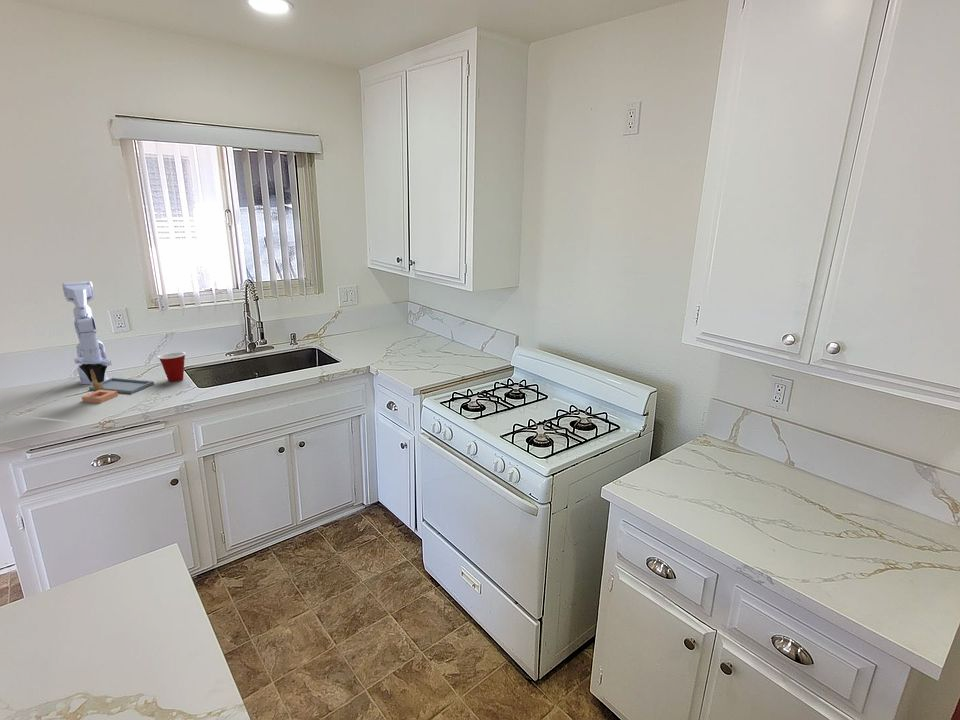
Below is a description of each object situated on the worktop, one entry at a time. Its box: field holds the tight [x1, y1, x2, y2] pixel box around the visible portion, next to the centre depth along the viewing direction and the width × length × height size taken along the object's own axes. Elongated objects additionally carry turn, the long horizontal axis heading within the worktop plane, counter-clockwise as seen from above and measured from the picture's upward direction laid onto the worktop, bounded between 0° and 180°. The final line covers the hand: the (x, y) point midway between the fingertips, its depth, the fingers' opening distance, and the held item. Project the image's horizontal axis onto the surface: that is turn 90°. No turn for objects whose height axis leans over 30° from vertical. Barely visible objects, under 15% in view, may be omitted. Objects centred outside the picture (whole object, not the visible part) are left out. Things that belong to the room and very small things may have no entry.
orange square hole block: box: [81, 390, 119, 404], centre depth 209 cm, size 8×8×2 cm
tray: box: [88, 377, 155, 395], centre depth 222 cm, size 20×12×2 cm, turn 81°
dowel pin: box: [90, 369, 103, 391], centre depth 207 cm, size 3×3×8 cm
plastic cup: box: [157, 351, 186, 383], centre depth 231 cm, size 11×11×12 cm
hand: (97, 381), depth 207 cm, fingers closed on dowel pin, 3 cm apart
